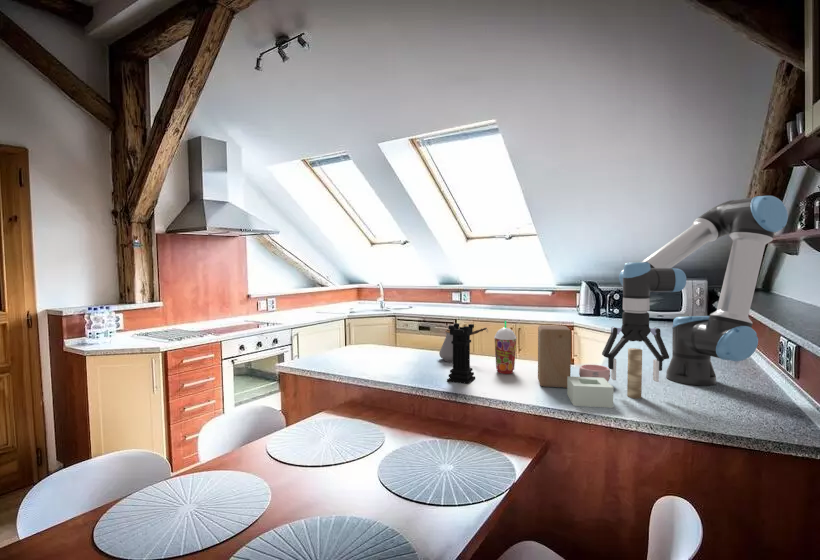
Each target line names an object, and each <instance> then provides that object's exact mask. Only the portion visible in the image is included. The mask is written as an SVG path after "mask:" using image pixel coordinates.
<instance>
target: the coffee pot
mask: <svg viewBox="0 0 820 560" xmlns="http://www.w3.org/2000/svg"><path fill="white" fill-rule="evenodd" d="M483 331H486V332H487V333H488V332H489V330H488V328H487V327H483V328H480V329H477V330H476V329H475V330H473V333H472V334H470V336H473V335H475V334H478V333H480V332H483ZM444 333H446V334H445V335H446V336H445V338H444V340H443V343H442V345H441V348H440V351H439V357H440V358H441V359H442V360H443V361H444V362H448V363H453V344H451V341H453V335H450V329H445V330H444Z"/></svg>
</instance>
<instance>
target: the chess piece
mask: <svg viewBox="0 0 820 560" xmlns="http://www.w3.org/2000/svg"><path fill="white" fill-rule="evenodd" d="M474 327H475V324H473V323H469V324H468V325H464V326H460V323H456V322H455V323H453V325H448V330H450V335H453V341H451V344H453V362H452V369H450V370H449V374H448V378H447V379H446V382H448V383H455V384H464V385H469V384H471V383H472V382H474V380H475V379H476V376H474V375H475V372H472V371H473V370H474V369H473V367H471V362H470V361H471V360H470V359H471V352H470V351H471V349H470V348H471V345H470V344H471V343H472V339H470V338H471V335H470V334H472V333H473V332H474V330H473V329H474Z"/></svg>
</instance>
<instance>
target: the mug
mask: <svg viewBox="0 0 820 560" xmlns="http://www.w3.org/2000/svg"><path fill="white" fill-rule="evenodd" d="M578 375H579V377H596V378H605V379H606V380H607V381H608V382H610V378H611V369H609V367H608V366H605V365H599V364H582V365H580V366H579V370H578Z"/></svg>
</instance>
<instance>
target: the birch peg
mask: <svg viewBox="0 0 820 560" xmlns="http://www.w3.org/2000/svg"><path fill="white" fill-rule="evenodd" d="M642 383H643V349H641V348H635V347H634V348H632V347H631V348H630V347H629V348H627V383H626V384H627V387H626V391H627V392H626V393H627V394H626V396H627V397H628V398H631V399H637V400H638V399H641V398H642V387H643V386H642Z"/></svg>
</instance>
